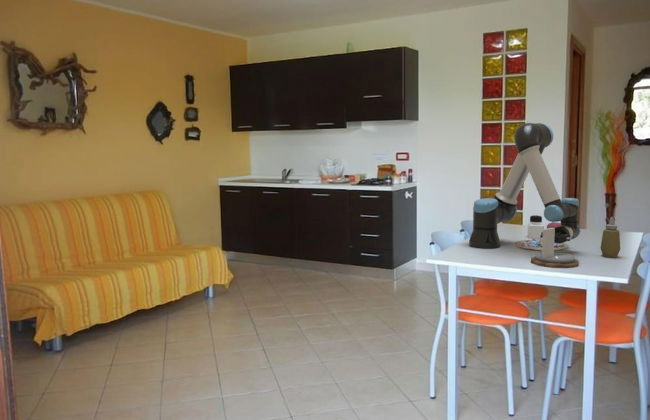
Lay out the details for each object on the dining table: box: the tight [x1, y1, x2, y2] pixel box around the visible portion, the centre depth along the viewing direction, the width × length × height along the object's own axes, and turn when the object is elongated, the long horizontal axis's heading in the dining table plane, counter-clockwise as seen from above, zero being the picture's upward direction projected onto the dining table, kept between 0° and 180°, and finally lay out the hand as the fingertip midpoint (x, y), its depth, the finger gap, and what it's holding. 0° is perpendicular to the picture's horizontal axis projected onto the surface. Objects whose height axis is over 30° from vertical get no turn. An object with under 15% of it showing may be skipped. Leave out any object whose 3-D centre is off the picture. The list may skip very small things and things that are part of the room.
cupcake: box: [546, 222, 561, 229], centre depth 310 cm, size 9×8×12 cm
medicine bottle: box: [527, 214, 545, 240], centre depth 302 cm, size 7×7×12 cm
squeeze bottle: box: [599, 216, 621, 258], centre depth 251 cm, size 8×8×18 cm
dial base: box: [530, 255, 580, 269], centre depth 239 cm, size 19×19×2 cm
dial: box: [534, 228, 576, 263], centre depth 238 cm, size 16×16×14 cm
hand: (542, 241), depth 236 cm, fingers closed
